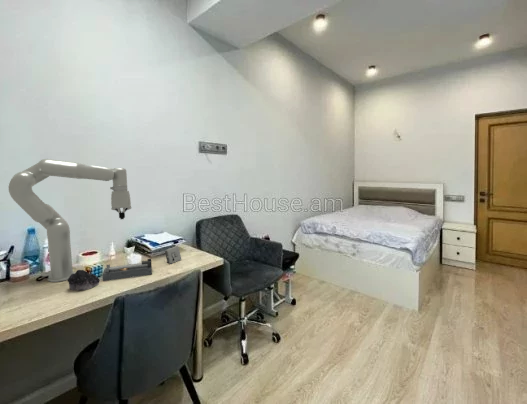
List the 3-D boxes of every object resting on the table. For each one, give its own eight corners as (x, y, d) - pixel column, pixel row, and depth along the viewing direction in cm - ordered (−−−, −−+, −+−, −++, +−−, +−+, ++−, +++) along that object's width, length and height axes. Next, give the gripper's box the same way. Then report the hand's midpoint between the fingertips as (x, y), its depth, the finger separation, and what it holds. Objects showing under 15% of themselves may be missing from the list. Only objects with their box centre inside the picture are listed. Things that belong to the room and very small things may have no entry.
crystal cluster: (97, 279, 147) (93, 262, 146) (103, 285, 137) (99, 266, 136) (67, 289, 138) (63, 270, 137) (71, 295, 128) (67, 275, 127)
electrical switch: (170, 264, 169) (169, 249, 168) (164, 263, 172) (163, 249, 171) (181, 260, 177) (180, 246, 177) (176, 259, 180) (174, 245, 179)
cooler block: (103, 281, 143) (102, 268, 142) (105, 275, 151) (104, 263, 150) (151, 274, 152) (151, 262, 151) (151, 269, 160) (151, 257, 160)
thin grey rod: (106, 271, 145) (105, 267, 145) (106, 269, 148) (106, 265, 148) (149, 265, 154) (149, 261, 154) (149, 263, 157) (149, 260, 157)
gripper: (105, 189, 155) (107, 221, 157) (133, 189, 161) (135, 219, 163) (106, 188, 162) (108, 218, 164) (134, 188, 168) (135, 217, 170)
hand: (122, 219), depth 163 cm, fingers closed
